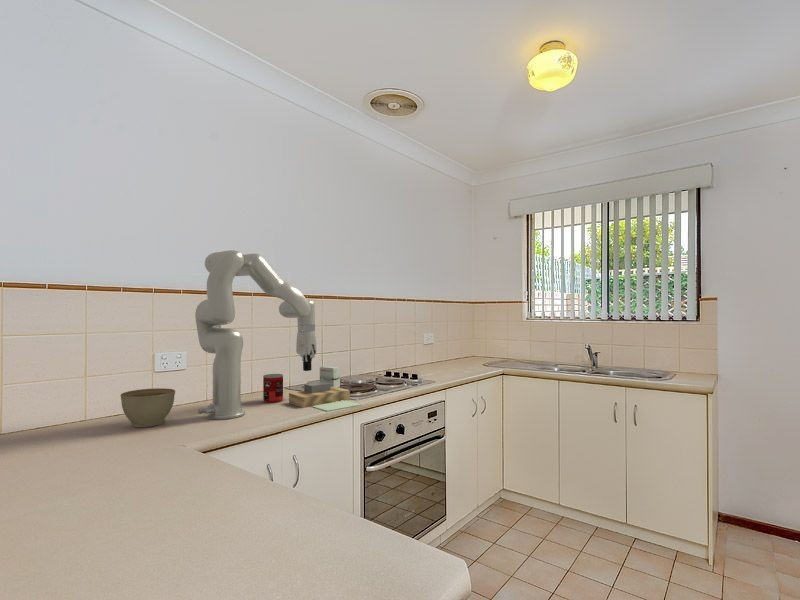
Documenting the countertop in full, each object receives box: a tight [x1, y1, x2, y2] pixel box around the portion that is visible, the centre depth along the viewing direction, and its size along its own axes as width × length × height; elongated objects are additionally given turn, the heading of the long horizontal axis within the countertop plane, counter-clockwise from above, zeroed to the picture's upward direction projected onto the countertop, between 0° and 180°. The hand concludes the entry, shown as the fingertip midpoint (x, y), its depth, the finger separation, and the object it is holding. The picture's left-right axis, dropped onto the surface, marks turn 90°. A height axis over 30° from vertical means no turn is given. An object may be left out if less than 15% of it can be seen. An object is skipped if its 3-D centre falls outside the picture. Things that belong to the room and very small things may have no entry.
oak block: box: [288, 387, 351, 408], centre depth 186 cm, size 22×12×4 cm, turn 132°
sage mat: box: [311, 400, 362, 412], centre depth 176 cm, size 16×11×1 cm
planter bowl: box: [120, 387, 176, 428], centre depth 150 cm, size 16×16×11 cm
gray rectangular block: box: [303, 381, 330, 393], centre depth 187 cm, size 9×6×3 cm, turn 132°
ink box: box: [319, 366, 341, 388], centre depth 205 cm, size 9×5×12 cm, turn 58°
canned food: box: [262, 373, 284, 404], centre depth 187 cm, size 8×8×11 cm
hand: (307, 370), depth 194 cm, fingers closed
